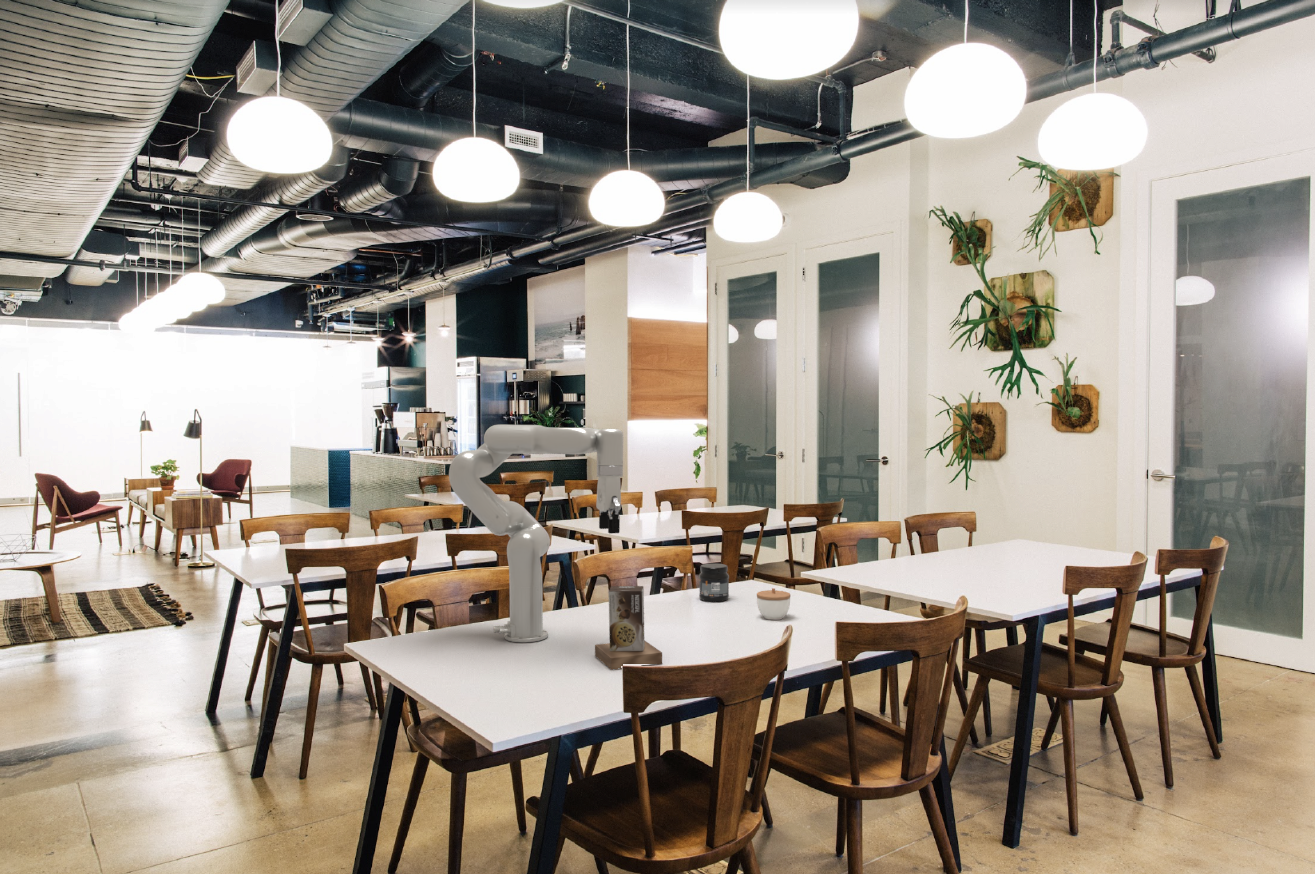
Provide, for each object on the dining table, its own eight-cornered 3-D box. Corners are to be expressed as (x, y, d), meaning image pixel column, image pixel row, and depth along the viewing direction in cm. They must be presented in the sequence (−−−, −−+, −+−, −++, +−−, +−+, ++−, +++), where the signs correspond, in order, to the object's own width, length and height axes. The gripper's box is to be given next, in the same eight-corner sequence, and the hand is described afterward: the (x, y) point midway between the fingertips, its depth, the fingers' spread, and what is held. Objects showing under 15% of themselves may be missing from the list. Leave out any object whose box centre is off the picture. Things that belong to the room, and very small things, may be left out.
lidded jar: (792, 621, 265) (792, 591, 265) (758, 621, 265) (758, 591, 265) (788, 613, 276) (788, 585, 275) (755, 613, 276) (755, 585, 276)
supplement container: (714, 595, 305) (714, 562, 305) (735, 599, 297) (735, 565, 297) (693, 599, 299) (692, 565, 298) (713, 604, 290) (713, 569, 290)
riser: (611, 669, 215) (611, 658, 215) (595, 655, 228) (594, 644, 228) (662, 663, 220) (662, 652, 220) (643, 650, 233) (643, 639, 233)
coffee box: (645, 645, 227) (644, 585, 226) (643, 651, 220) (642, 590, 220) (611, 645, 227) (610, 585, 227) (608, 651, 221) (608, 590, 220)
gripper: (589, 469, 249) (589, 527, 249) (605, 473, 233) (604, 535, 233) (614, 469, 251) (613, 526, 252) (631, 473, 235) (630, 534, 235)
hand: (609, 530), depth 242 cm, fingers open, 9 cm apart
